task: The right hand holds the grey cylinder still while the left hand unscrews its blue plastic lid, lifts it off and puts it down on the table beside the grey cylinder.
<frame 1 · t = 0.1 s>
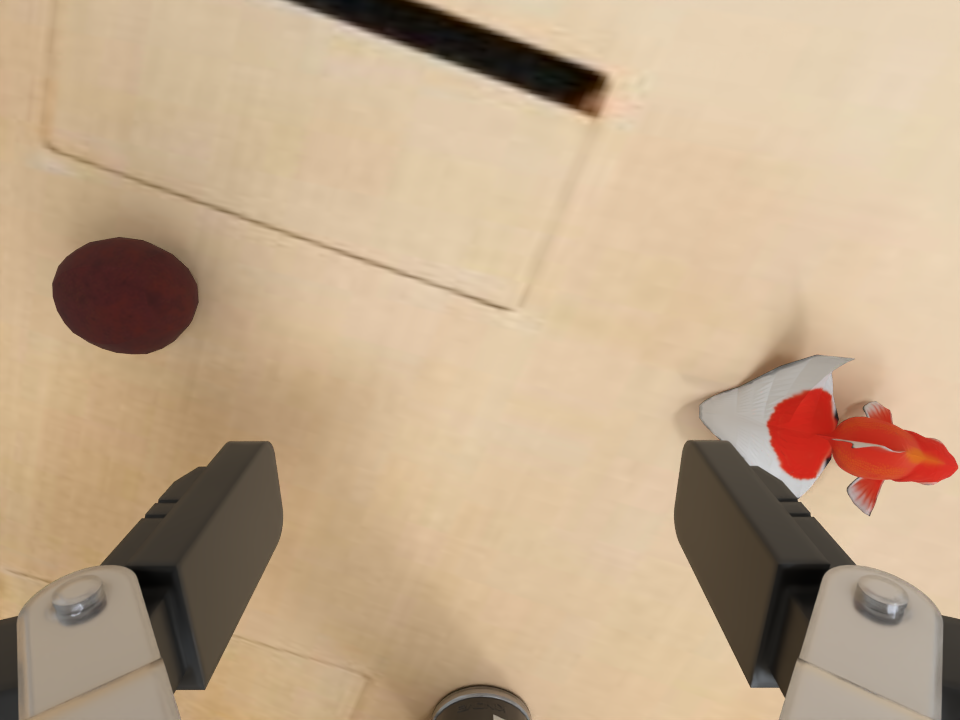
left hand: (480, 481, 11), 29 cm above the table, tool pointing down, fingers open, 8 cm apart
fish: (790, 414, 43), on the table
potato: (160, 283, 40), on the table
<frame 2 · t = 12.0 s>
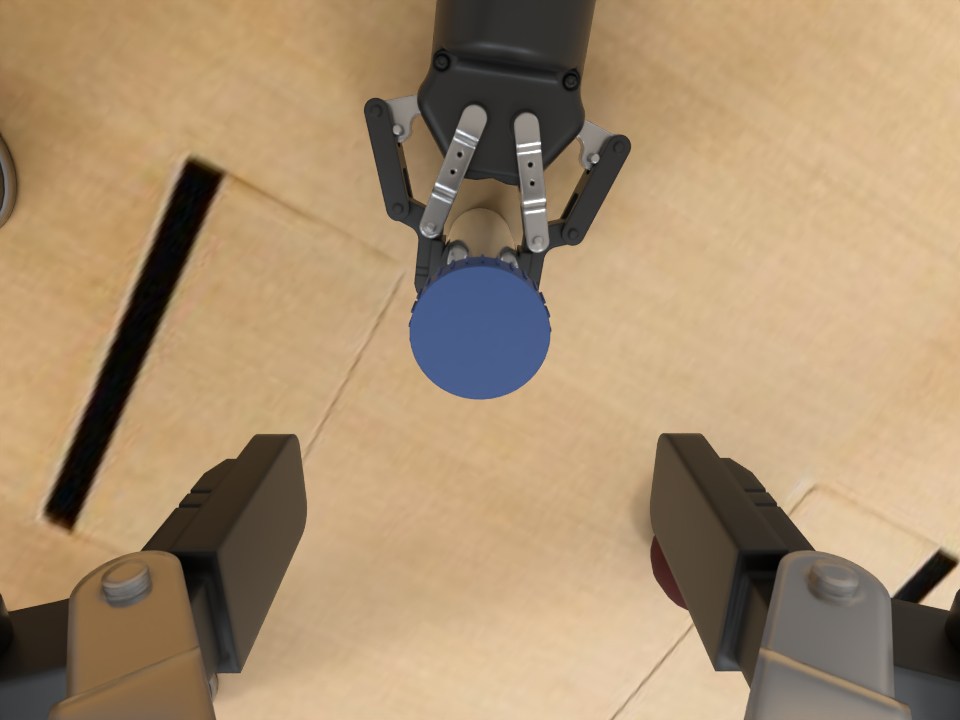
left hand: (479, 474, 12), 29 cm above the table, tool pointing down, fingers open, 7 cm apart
right hand: (474, 306, 33), fingers closed on grey cylinder, 4 cm apart
lid: (480, 332, 20), point 20 cm above the table, screwed on, not yet turned
grey cylinder: (480, 240, 38), on the table, touching right hand
potato: (685, 531, 47), on the table
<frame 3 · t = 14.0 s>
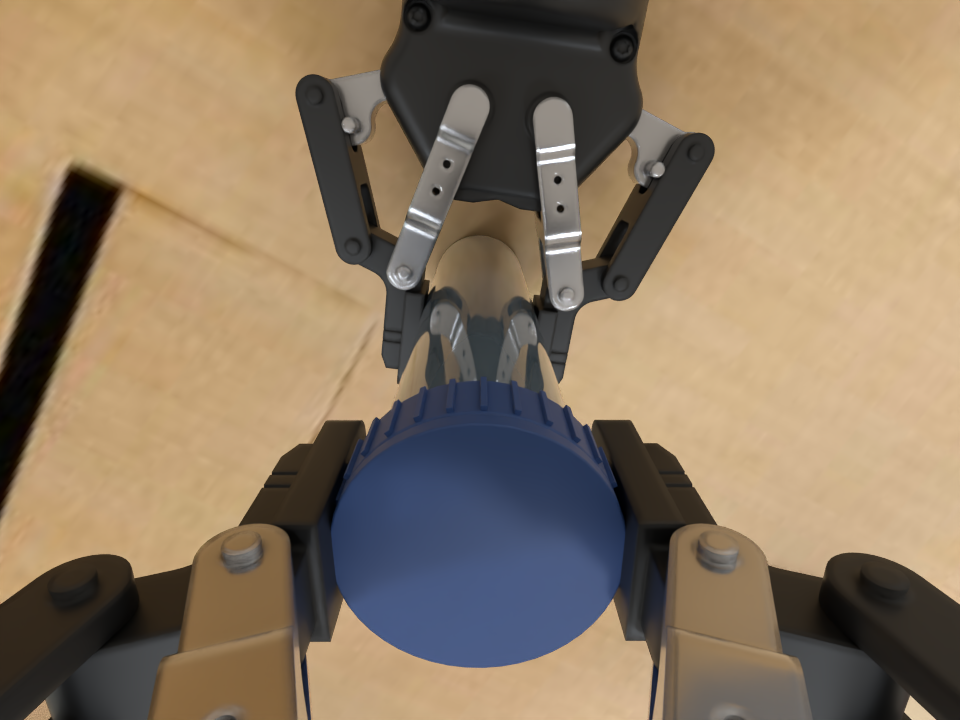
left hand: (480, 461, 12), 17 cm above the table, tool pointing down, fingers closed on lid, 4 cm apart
right hand: (470, 383, 23), fingers closed on grey cylinder, 4 cm apart
lid: (478, 543, 10), point 20 cm above the table, screwed on, not yet turned, touching left hand
grey cylinder: (479, 278, 28), on the table, touching right hand
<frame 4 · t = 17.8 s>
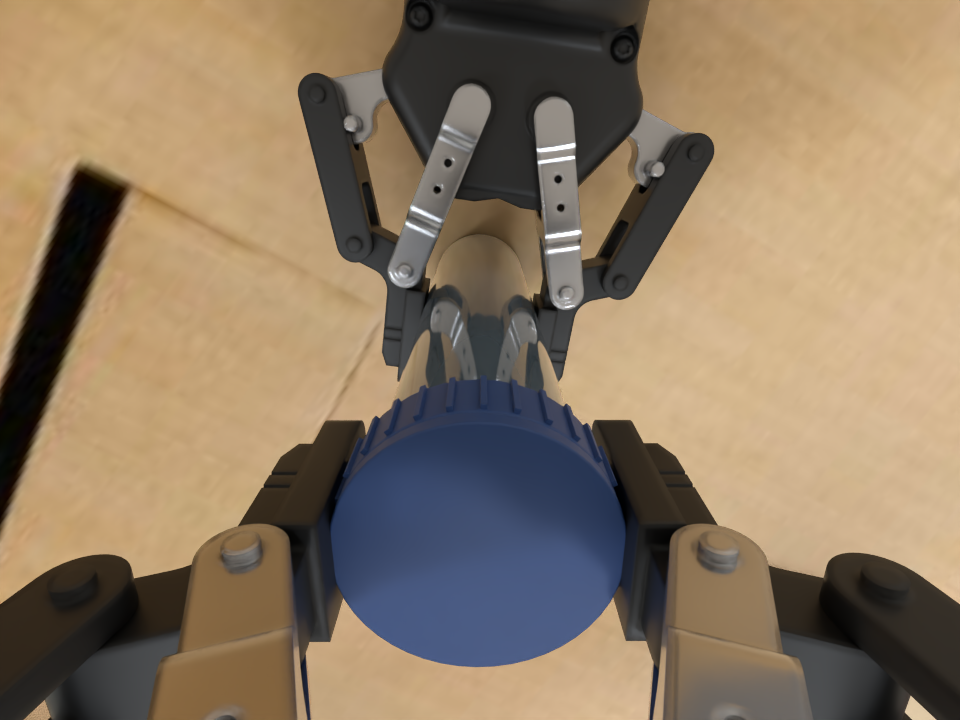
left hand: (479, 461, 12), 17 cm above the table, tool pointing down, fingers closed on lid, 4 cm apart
right hand: (470, 381, 23), fingers closed on grey cylinder, 4 cm apart
lid: (478, 542, 10), point 20 cm above the table, turned 87° so far, risen 0.1 cm, still on its thread, touching left hand
grey cylinder: (479, 277, 28), on the table, touching right hand
when the left hand's fingers open (0 cm above the table, at t = 32.2 s): lid drops 2 cm, point 1 cm above the table.
when the right hand's fingers open (7 cm above the table, at t = 33.3 s): grey cylinder stays where it is, on the table.
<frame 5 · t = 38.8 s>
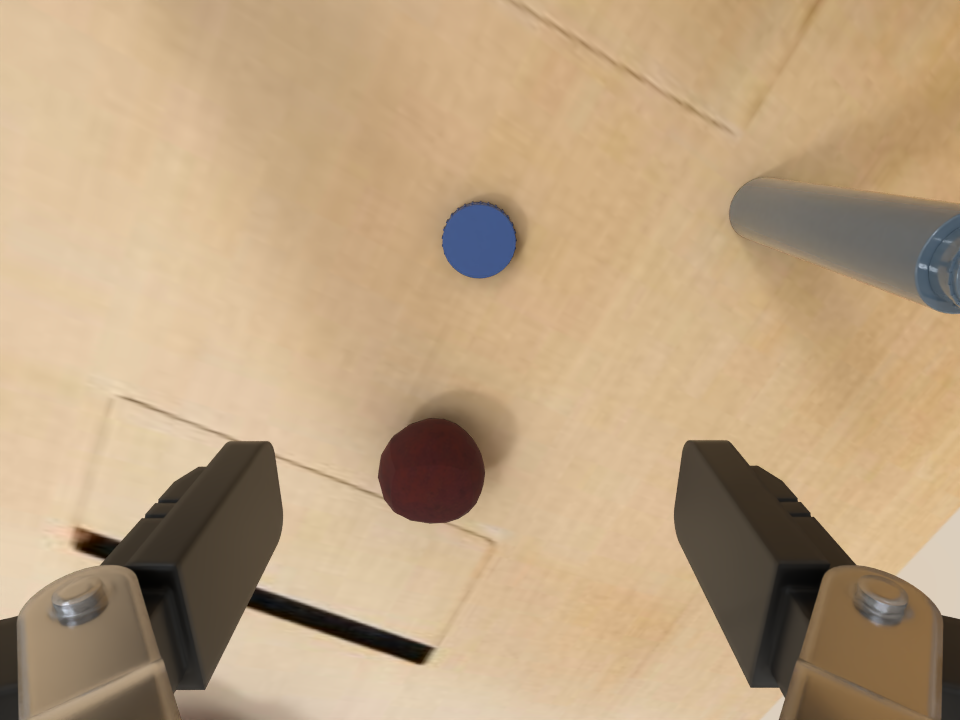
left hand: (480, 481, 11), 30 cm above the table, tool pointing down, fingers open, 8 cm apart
lid: (479, 241, 39), point 1 cm above the table, off its thread
grey cylinder: (759, 209, 39), on the table
potato: (435, 445, 46), on the table
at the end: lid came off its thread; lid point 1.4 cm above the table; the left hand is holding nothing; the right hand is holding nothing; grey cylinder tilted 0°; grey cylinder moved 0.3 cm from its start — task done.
